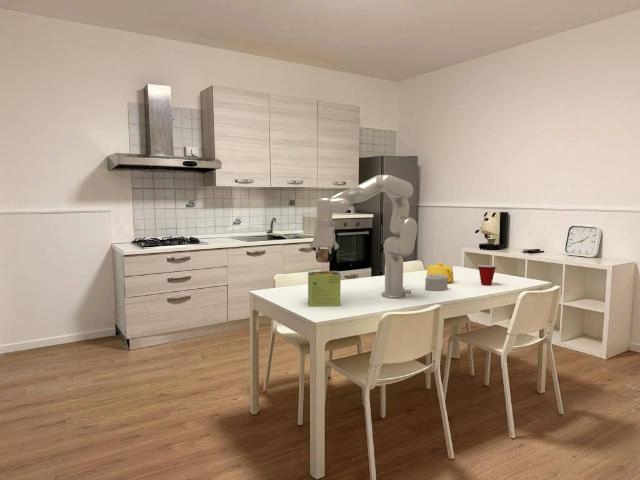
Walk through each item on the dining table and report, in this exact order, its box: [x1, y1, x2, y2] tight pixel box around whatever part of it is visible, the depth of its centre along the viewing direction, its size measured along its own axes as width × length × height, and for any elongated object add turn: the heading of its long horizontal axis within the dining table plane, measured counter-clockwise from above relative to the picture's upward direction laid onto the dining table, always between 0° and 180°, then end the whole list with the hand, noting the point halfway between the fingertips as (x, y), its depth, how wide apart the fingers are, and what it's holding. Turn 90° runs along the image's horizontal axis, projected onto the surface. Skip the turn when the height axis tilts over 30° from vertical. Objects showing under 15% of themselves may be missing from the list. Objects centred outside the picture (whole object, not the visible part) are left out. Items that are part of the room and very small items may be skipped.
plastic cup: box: [477, 264, 497, 286], centre depth 267 cm, size 11×11×12 cm
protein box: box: [307, 270, 342, 307], centre depth 216 cm, size 10×15×16 cm
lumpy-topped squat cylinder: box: [424, 274, 449, 292], centre depth 253 cm, size 10×13×9 cm
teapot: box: [425, 262, 454, 284], centre depth 277 cm, size 20×12×12 cm, turn 34°
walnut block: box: [316, 248, 329, 264], centre depth 214 cm, size 5×5×6 cm
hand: (323, 260), depth 215 cm, fingers closed on walnut block, 5 cm apart
